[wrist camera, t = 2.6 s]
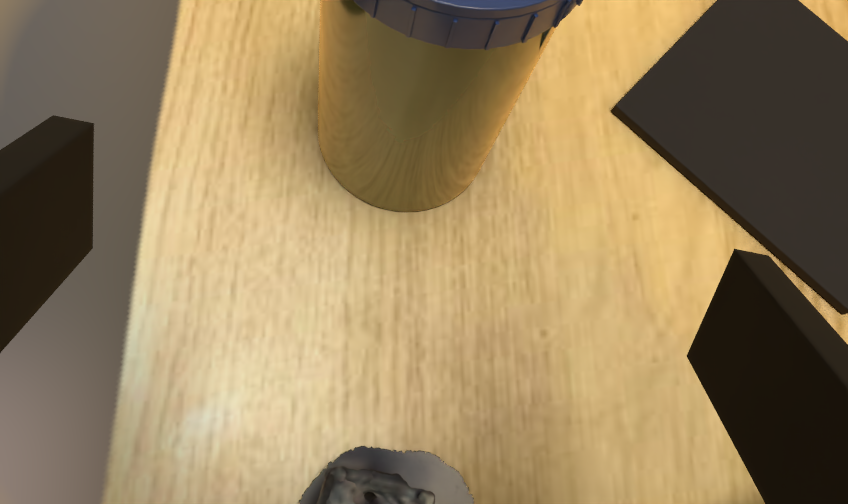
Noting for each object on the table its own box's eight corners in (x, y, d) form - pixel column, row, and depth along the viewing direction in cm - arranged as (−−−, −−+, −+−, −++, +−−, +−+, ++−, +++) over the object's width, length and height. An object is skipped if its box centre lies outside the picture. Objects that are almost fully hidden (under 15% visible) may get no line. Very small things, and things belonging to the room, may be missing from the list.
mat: (610, 111, 35) (615, 105, 35) (747, -30, 39) (753, -38, 39) (842, 315, 34) (851, 312, 33) (961, 148, 38) (971, 143, 37)
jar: (281, 129, 33) (260, -128, 19) (399, 28, 35) (457, -265, 21) (407, 247, 32) (479, 68, 18) (519, 135, 34) (659, -97, 21)
